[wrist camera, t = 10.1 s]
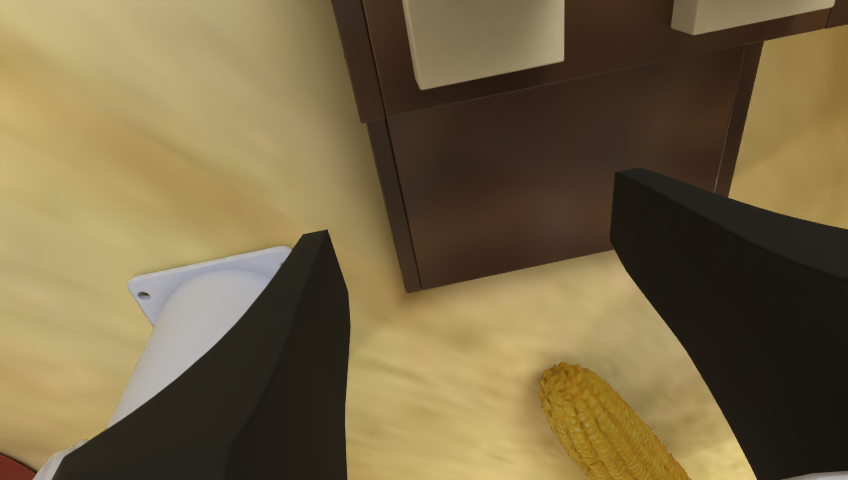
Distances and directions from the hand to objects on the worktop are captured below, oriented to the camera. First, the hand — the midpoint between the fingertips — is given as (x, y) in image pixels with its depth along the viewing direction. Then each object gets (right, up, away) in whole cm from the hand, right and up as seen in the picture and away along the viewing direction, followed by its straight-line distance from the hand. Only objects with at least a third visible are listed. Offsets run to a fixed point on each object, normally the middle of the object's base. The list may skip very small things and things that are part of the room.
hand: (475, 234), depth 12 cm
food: (+12, -14, +24) cm, 30 cm away
